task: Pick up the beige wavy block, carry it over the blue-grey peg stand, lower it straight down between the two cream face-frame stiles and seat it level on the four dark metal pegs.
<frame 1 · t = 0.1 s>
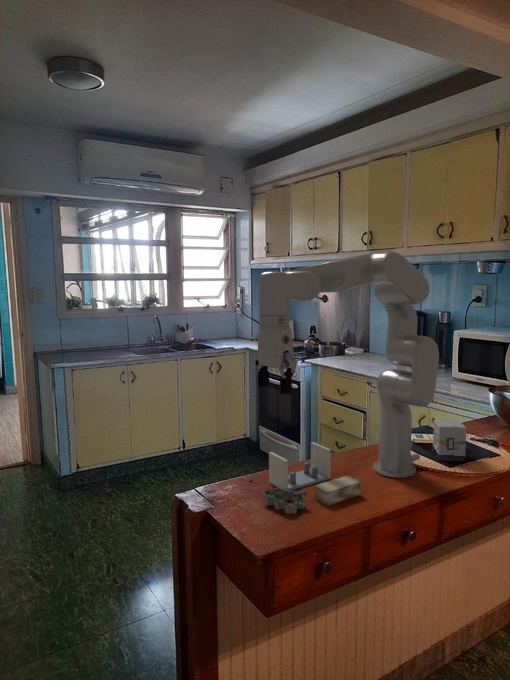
hand: (274, 389, 118), 31 cm above the countertop, fingers open, 9 cm apart
egg carton: (284, 506, 123), on the countertop
peg stand: (299, 480, 139), on the countertop
ink box: (448, 457, 157), on the countertop
beige wavy block: (337, 497, 128), on the countertop
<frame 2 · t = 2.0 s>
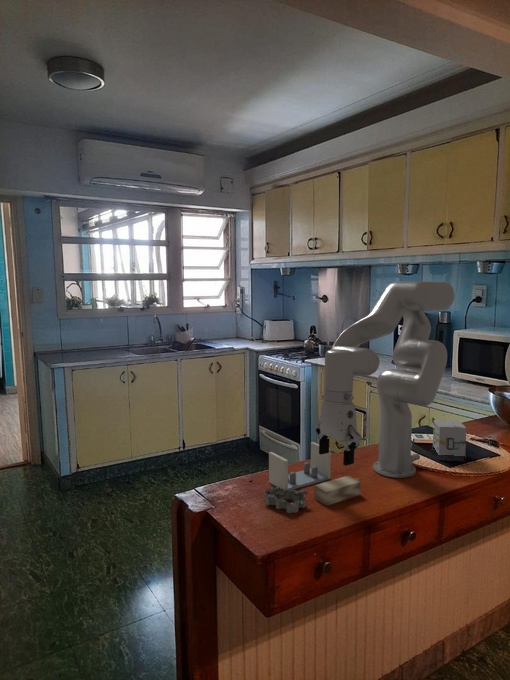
hand: (335, 458, 126), 11 cm above the countertop, fingers open, 9 cm apart
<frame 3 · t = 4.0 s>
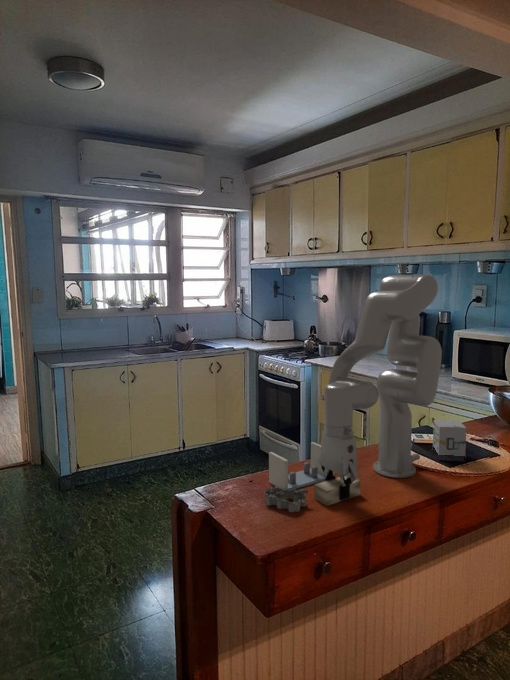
hand: (337, 494, 128), 1 cm above the countertop, fingers closed on beige wavy block, 5 cm apart
beige wavy block: (337, 496, 128), on the countertop, touching gripper
everything else where it was.
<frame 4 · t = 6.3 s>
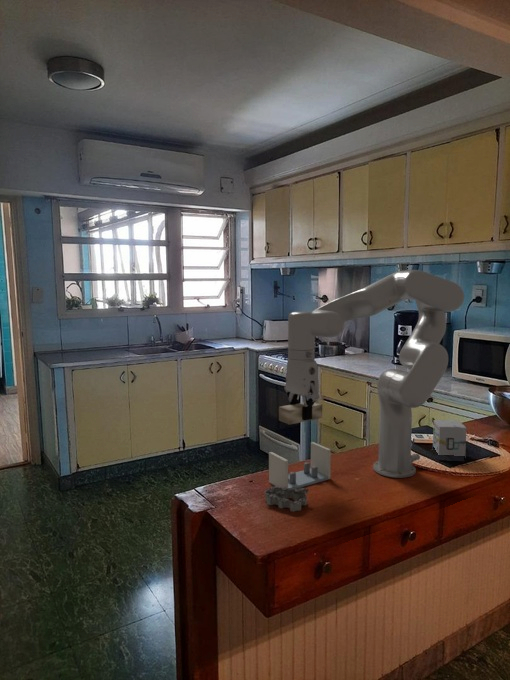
hand: (300, 416, 136), 19 cm above the countertop, fingers closed on beige wavy block, 5 cm apart
beige wavy block: (300, 419, 136), point 19 cm above the countertop, touching gripper
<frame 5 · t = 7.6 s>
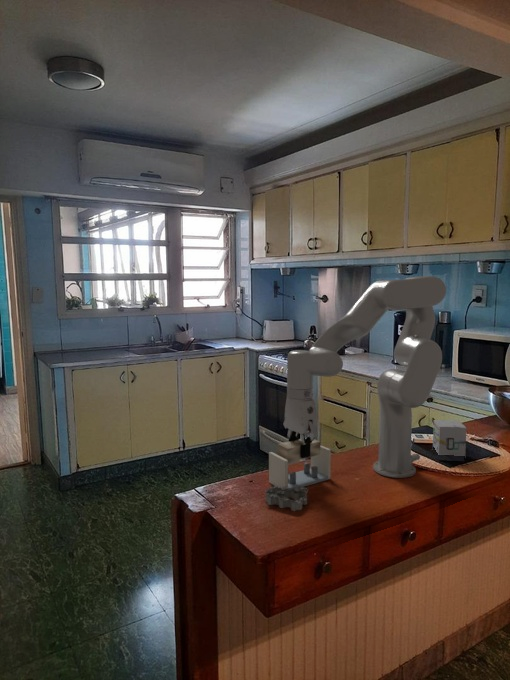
hand: (299, 453, 138), 8 cm above the countertop, fingers closed on beige wavy block, 5 cm apart
beige wavy block: (298, 455, 138), point 8 cm above the countertop, touching gripper
when the fingers open (6 cm above the countertop, at t = 8.7 s): beige wavy block stays where it is, resting on peg stand.
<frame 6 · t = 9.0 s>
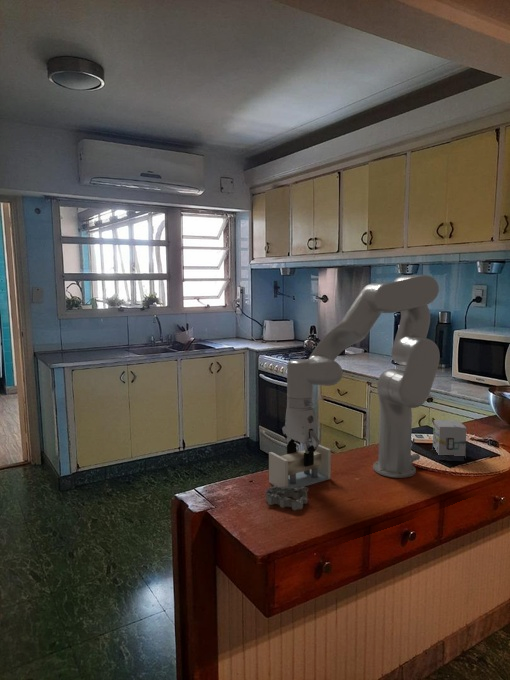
hand: (300, 460, 138), 6 cm above the countertop, fingers open, 7 cm apart
beige wavy block: (300, 468, 138), point 4 cm above the countertop, touching peg stand
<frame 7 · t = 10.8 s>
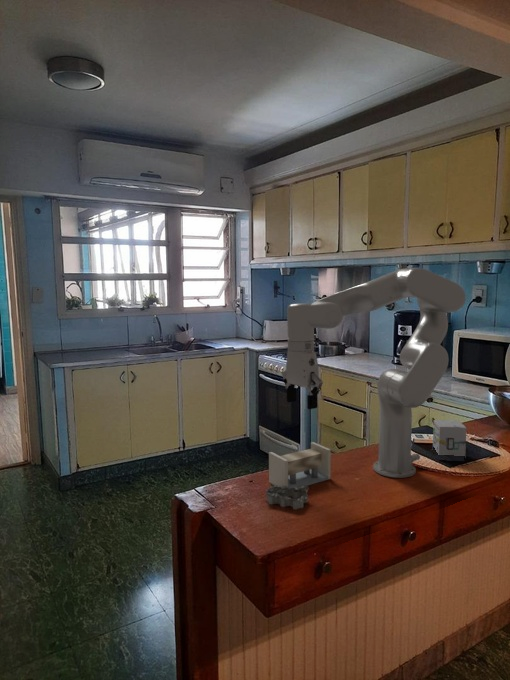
hand: (301, 404, 137), 23 cm above the countertop, fingers open, 9 cm apart
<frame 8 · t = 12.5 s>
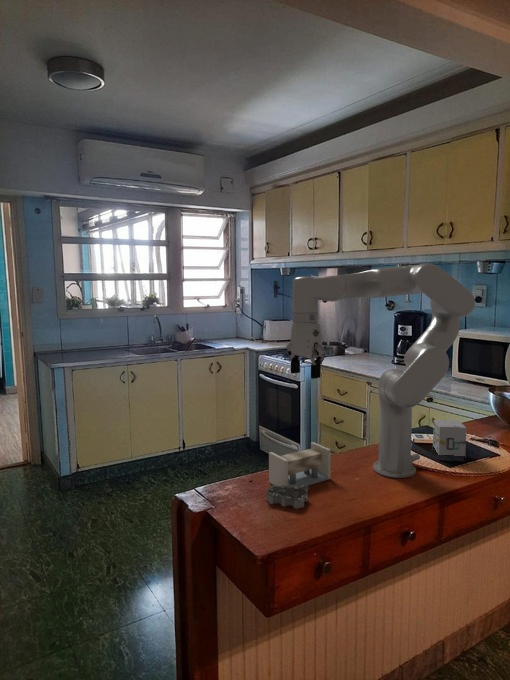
hand: (305, 375, 141), 30 cm above the countertop, fingers open, 9 cm apart
at the end: beige wavy block 0.0 cm off-centre on the peg stand, point 3.8 cm above the peg stand's base; beige wavy block tilted 0°; beige wavy block touching peg stand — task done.
